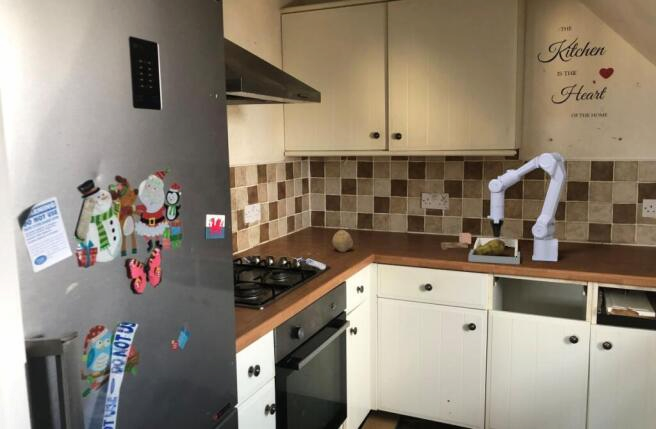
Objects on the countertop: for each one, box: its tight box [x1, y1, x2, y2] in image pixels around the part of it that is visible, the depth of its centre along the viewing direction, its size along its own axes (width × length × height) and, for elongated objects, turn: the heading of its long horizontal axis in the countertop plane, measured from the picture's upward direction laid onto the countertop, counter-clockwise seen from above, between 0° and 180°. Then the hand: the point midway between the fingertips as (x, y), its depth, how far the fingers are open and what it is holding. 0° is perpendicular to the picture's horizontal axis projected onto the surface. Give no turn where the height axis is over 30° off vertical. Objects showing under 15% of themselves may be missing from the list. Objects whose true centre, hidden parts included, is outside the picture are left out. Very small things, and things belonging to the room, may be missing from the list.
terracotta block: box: [458, 232, 472, 245], centre depth 266 cm, size 4×4×4 cm
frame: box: [468, 248, 521, 265], centre depth 231 cm, size 20×13×2 cm, turn 71°
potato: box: [473, 238, 505, 256], centre depth 234 cm, size 8×13×8 cm, turn 74°
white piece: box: [473, 237, 519, 257], centre depth 248 cm, size 18×22×4 cm
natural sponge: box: [331, 229, 354, 253], centre depth 249 cm, size 9×9×10 cm
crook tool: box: [440, 242, 469, 250], centre depth 255 cm, size 12×6×2 cm, turn 86°
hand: (496, 236), depth 244 cm, fingers closed
